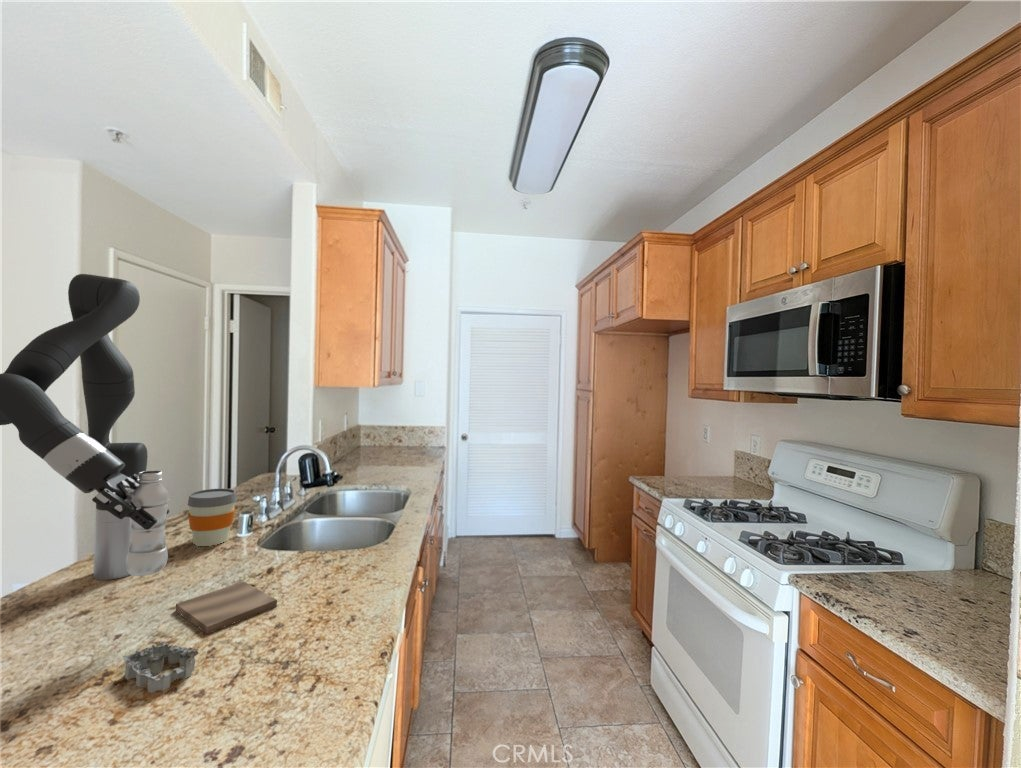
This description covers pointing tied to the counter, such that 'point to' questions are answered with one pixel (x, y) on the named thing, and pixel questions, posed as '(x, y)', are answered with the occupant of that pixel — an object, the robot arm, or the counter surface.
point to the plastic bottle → (150, 544)
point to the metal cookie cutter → (159, 665)
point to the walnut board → (225, 606)
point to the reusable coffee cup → (211, 515)
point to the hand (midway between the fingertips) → (159, 520)
